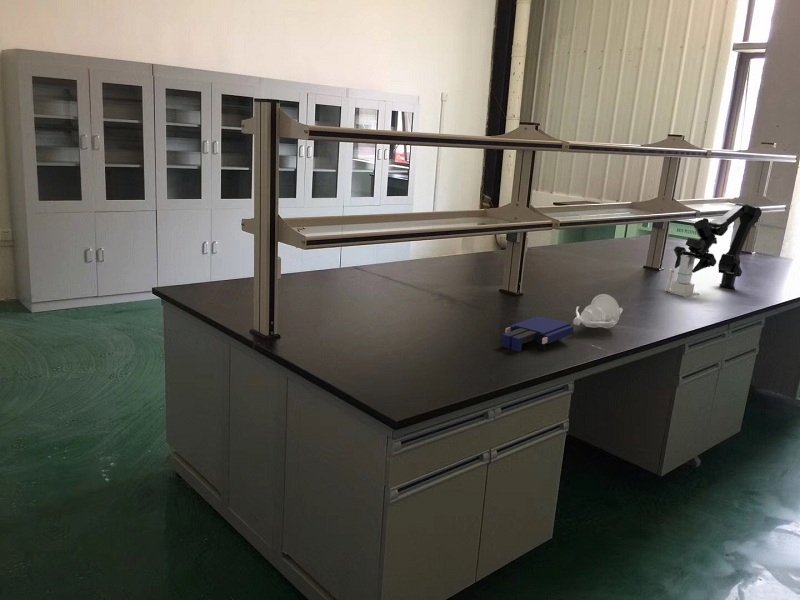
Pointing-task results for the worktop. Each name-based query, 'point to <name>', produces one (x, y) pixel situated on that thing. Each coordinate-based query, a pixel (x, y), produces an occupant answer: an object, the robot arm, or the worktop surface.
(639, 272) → the worktop surface
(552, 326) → the blue flat boxy piece
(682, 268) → the column
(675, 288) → the stand
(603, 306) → the figurine
